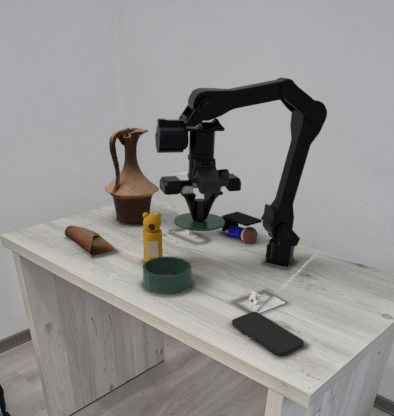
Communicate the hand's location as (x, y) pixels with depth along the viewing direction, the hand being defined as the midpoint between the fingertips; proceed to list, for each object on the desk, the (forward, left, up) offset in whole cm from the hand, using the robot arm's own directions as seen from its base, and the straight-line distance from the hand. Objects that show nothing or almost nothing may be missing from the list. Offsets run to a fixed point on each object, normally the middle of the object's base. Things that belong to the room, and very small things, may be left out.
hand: (199, 219), depth 113 cm
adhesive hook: (-21, +8, -14) cm, 26 cm away
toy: (+13, +2, -13) cm, 19 cm away
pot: (+2, +12, -13) cm, 18 cm away
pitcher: (+38, -21, -13) cm, 45 cm away
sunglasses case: (+35, +3, -14) cm, 37 cm away
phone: (-28, +20, -13) cm, 37 cm away
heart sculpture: (+15, -19, -14) cm, 28 cm away
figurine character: (+2, -26, -14) cm, 29 cm away
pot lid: (0, 0, -1) cm, 1 cm away
